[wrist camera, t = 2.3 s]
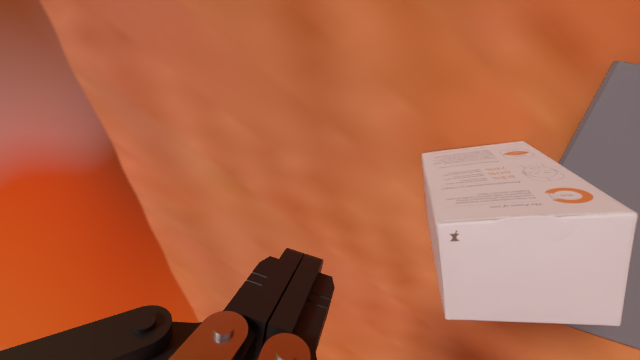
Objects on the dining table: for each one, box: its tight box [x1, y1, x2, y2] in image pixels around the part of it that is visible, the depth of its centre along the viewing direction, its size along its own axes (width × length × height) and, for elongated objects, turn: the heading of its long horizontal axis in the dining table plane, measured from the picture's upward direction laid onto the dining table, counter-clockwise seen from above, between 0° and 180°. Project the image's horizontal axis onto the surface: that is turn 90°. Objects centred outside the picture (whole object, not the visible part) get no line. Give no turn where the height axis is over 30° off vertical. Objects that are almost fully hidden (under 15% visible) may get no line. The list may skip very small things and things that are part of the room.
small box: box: [422, 141, 638, 326], centre depth 20 cm, size 8×6×13 cm
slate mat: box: [559, 61, 640, 349], centre depth 24 cm, size 22×14×1 cm, turn 169°
